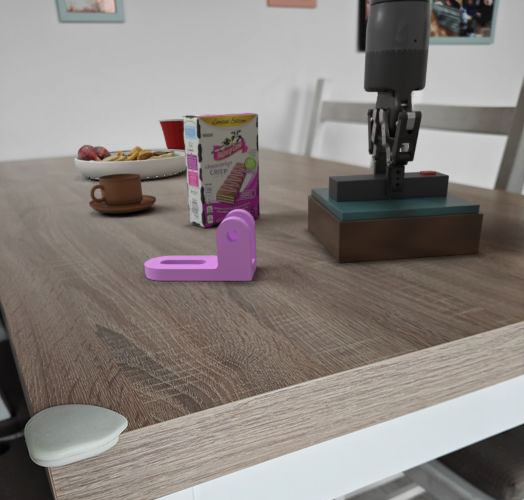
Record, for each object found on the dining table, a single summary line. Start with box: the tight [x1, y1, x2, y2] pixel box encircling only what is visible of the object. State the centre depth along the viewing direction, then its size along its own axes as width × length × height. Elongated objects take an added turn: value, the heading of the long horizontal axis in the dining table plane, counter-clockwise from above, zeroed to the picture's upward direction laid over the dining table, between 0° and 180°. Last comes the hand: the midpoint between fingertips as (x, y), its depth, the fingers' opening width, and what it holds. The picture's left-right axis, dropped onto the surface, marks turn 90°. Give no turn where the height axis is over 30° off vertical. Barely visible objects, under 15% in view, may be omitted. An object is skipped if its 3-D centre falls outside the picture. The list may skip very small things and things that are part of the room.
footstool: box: [307, 187, 484, 264], centre depth 76 cm, size 18×19×6 cm
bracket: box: [143, 209, 258, 282], centre depth 64 cm, size 13×6×7 cm, turn 84°
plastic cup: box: [157, 118, 185, 150], centre depth 179 cm, size 11×11×12 cm
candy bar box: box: [181, 112, 261, 229], centre depth 88 cm, size 11×5×16 cm, turn 126°
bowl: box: [74, 144, 186, 181], centre depth 146 cm, size 30×30×8 cm
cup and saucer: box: [88, 174, 157, 215], centre depth 101 cm, size 12×12×6 cm
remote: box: [328, 170, 450, 202], centre depth 74 cm, size 5×15×3 cm, turn 97°
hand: (387, 191), depth 74 cm, fingers closed on remote, 4 cm apart
